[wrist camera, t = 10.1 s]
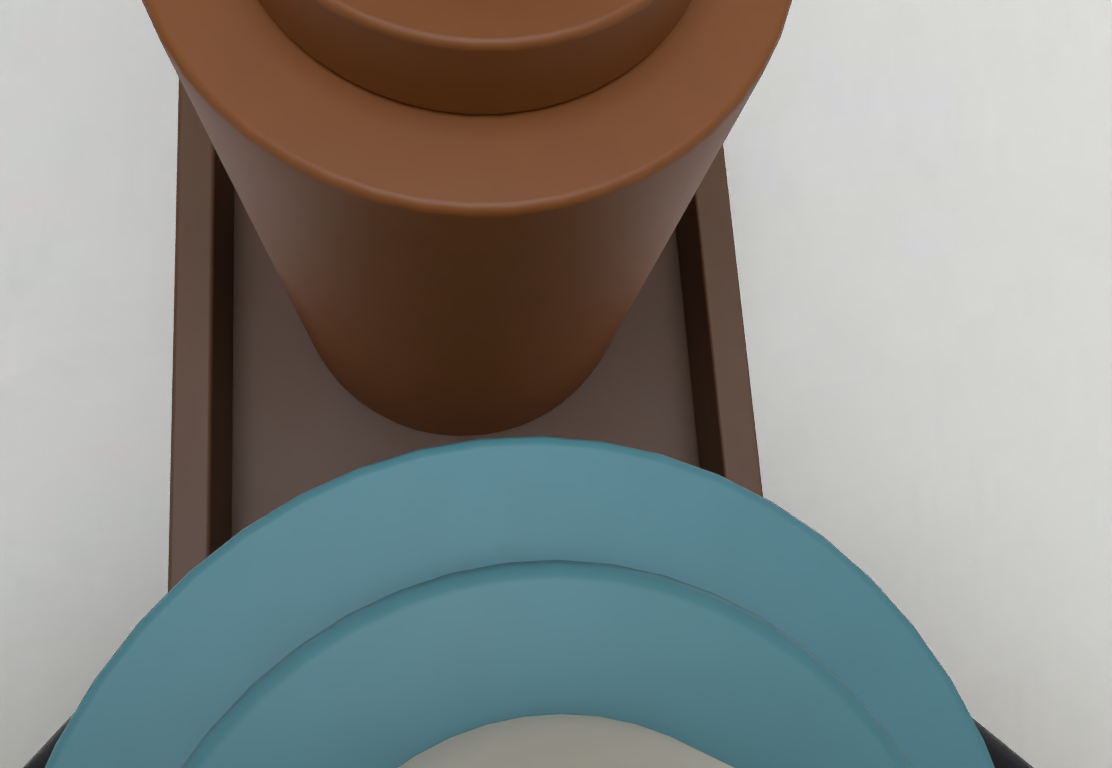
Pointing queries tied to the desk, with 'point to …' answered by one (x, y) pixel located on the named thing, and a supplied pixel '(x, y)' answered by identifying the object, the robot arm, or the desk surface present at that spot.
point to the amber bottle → (466, 174)
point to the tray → (367, 437)
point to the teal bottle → (524, 631)
